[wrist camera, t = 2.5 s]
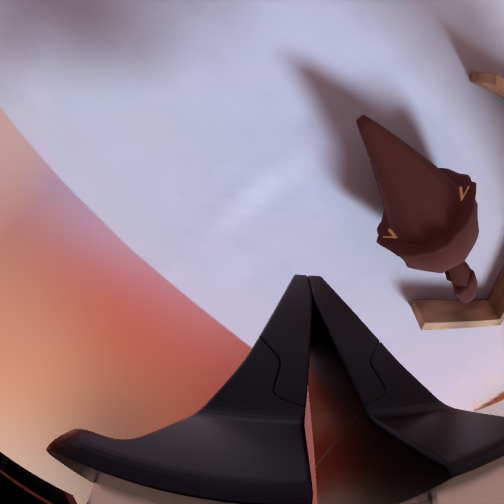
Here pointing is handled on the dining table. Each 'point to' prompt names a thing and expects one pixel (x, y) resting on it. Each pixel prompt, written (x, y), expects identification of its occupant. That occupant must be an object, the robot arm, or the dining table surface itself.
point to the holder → (476, 311)
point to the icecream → (423, 209)
